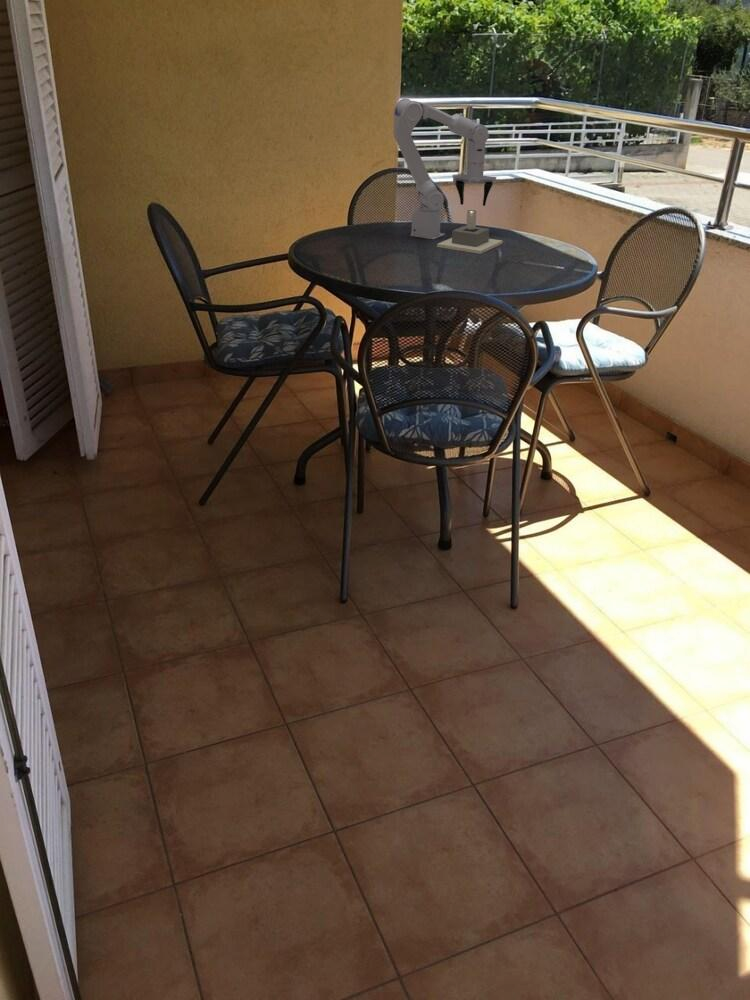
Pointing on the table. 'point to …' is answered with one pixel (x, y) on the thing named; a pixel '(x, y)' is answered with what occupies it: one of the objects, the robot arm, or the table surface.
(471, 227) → the steel pin
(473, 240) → the socket block on plate
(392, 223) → the table surface
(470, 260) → the table surface
